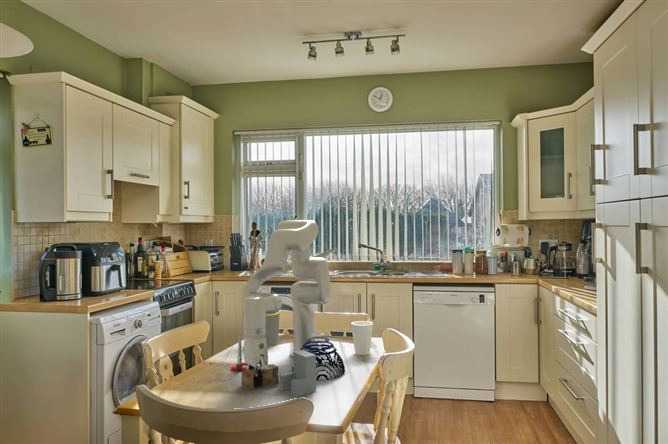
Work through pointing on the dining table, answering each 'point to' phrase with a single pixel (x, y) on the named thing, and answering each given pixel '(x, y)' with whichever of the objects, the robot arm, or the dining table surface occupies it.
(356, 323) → the foam cup
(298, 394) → the grey stepped block
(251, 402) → the dining table surface
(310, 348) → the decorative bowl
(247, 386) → the brown wooden block
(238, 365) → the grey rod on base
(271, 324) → the soap bottle
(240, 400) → the dining table surface
